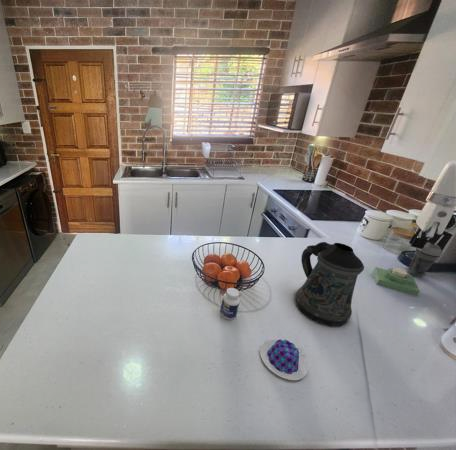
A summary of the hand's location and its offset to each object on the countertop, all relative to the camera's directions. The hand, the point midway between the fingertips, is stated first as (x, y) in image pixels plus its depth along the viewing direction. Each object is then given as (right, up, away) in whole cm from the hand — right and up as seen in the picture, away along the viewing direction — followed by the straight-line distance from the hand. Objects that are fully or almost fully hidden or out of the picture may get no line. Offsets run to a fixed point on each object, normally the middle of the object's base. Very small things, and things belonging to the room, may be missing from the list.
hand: (415, 245), depth 91 cm
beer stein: (-39, -22, -3) cm, 45 cm away
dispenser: (-1, -17, +9) cm, 19 cm away
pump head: (0, -12, +6) cm, 14 cm away
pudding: (-61, -30, -22) cm, 71 cm away
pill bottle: (-72, -23, -7) cm, 75 cm away
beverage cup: (+16, -14, +16) cm, 27 cm away
